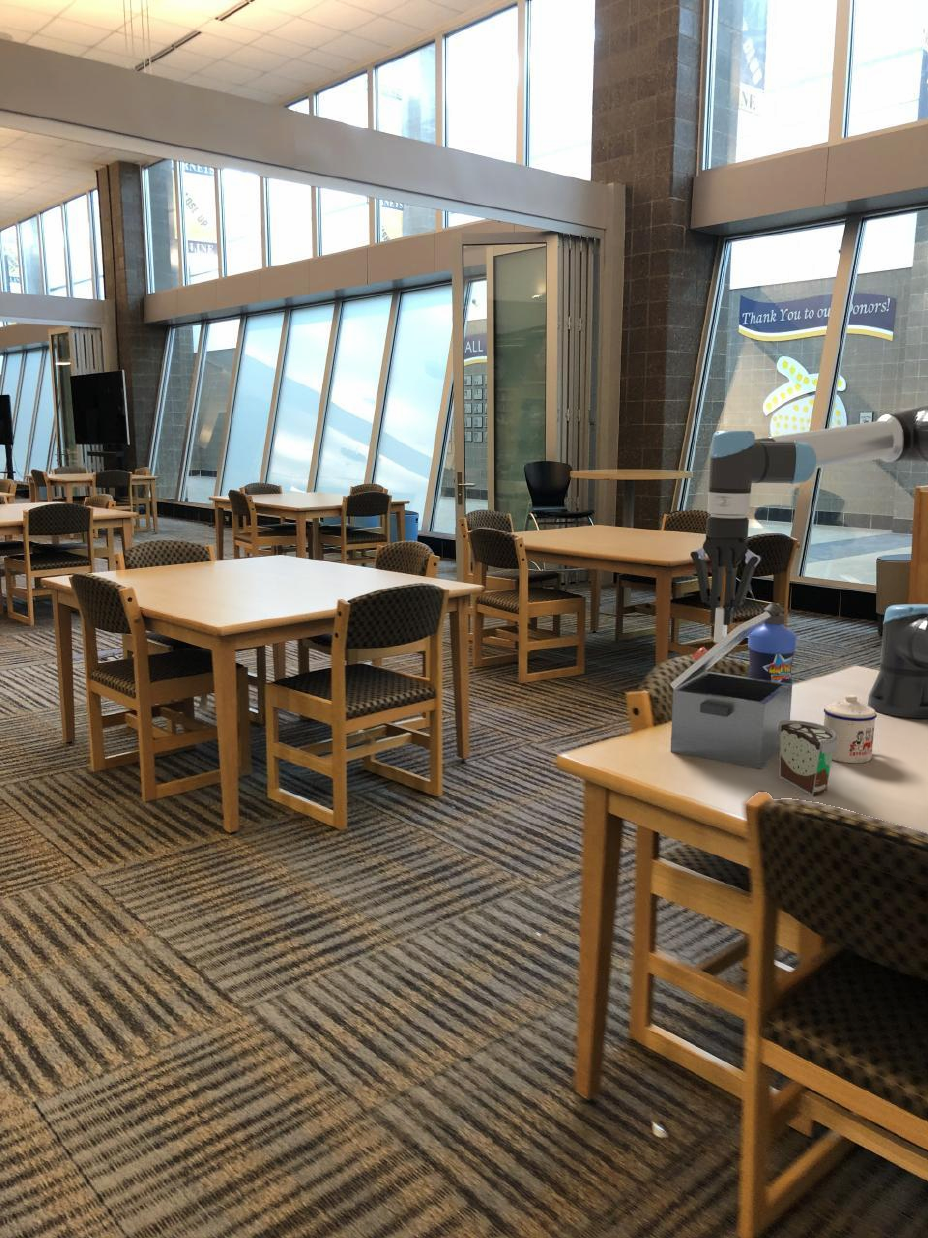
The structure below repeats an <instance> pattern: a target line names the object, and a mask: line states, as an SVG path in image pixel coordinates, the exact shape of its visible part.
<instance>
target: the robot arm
mask: <svg viewBox="0 0 928 1238" xmlns="http://www.w3.org/2000/svg"><path fill="white" fill-rule="evenodd" d="M874 460H881V461H882V462H884V463H895V462H918V463H919V462H920V463H928V405H925V406H920V407H917V408H912V409H909V410H905V411H901V412H900V411H899V412H895V413H890V414H883V415H881V416H880V417H878V419H877V420H876V421H870V422H863V423H857V424H850V425H843V426H837V427H830V428H828V427H827V428H822V429H816V430H810V431H808V430H807V431H802V432H796V433H790V434H783V435H782V434H781V435H775V436H769V437H762V438H756V434H755V432H754V431H752V430H717V431H716V432H714V434H712V439H711V446H710V453H709V481H708V491H707V492H708V493H707V496H708V497H707V514H709V516H708V517H707V518H706V524H705V525H706V527H705V540H704V541H703V544H702V547H700V548H699V549H697V550H694V551H691V552H690V555H689V556H690V557H691V559H692V561H693V563H694V565H695V566H694V567H695V572H696V578H697V583H698V589H699V596H700V600H701V602H702V603H705V604H707V605H709V607H710V616H709V621H710V623H711V625H712V624H714V629H713V631H714V633H713V643H716V644H717V643H718V642H719V641H721V640H722V639H723V638H724V637H725V636H726V635H728V633H727V632H728V626H731V625H732V624H733V618H734V609H735V607H740V606H742V605H743V604H744V603H745V601H746V597H747V595H748V592H749V588H750V585H751V581H752V579H753V575H754V573H755V570H756V567H757V566H758V565H759V563H760V562H761V561H762V556H761V555H756V554H755V553H754V552H753V551H751V548H750V544H749V542H748V539H749V525H750V522H749V521H750V519H749V518H748V517H747V516H748V515H749V514H750V512H751V509H750V508H751V498H752V497H751V496H752V495H751V494H752V485H753V484H791V485H794V484H800V483H801V484H802V483H806V482H809V480H810V479H811V478H812V477H813V475H814V474H815V472H816V470H817V469H822V468H828V467H834V466H842V465H846V464H847V465H849V464H854V463H860V462H867V461H874ZM707 557H708V559H709V561H710V562H711V571H712V573H711V584H710V579H709V574H708V566H707V563H706V560H705V559H706V558H707ZM744 558H745V560H744ZM742 560H744V561H745V566H744V569H743V572H742V575H741V577H740V580H739V584H738V588H737V591H736V585H737V584H736V583H737V571H738V568H739V567H738V566H739V564H741V562H742ZM724 571H725V578H724V577H723V575H724ZM723 578H724V579H725V582H724V597H723V598H724V599H723V601H722V593H723V592H722V591H723ZM710 585H711V586H710ZM722 604H723V605H722ZM882 626H883V627H882V639H881V641H882V642H881V651H880V661H879V663H880V664H879V671H878V674H877V676H876V678H875V679H874V682H873V685H872V687H871V689H870V691H869V694H868V699H867V700H868V701H867V706H869V707H871V708H873V709H874V710H875V712H878V713H881V714H885V715H889V716H894V717H898V718H899V717H900V718H906V719H907V718H909V719H928V604H926V603H918V604H916V603H913V604H911V603H910V604H909V603H908V604H907V603H905V604H893V605H889V606H888V607H887V608H886V610H885V613H884V619H883V622H882Z"/></svg>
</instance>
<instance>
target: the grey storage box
mask: <svg viewBox="0 0 928 1238" xmlns="http://www.w3.org/2000/svg"><path fill="white" fill-rule="evenodd" d="M791 688H792V689H793V683H792V684H789V683H782V682H776V681H769V680H762V679H755V678H748V676H740V675H733V674H726V673H721V672H713V671H708V670H706V671H705V672H703V673H701V674H700V675H698V676H696V677H694V678H693V679H691V680H689V681H687V682H686V683H684V684H682V685H681V686H679V687H677V688H675V689H673V691H672V708H671V709H672V712H671V731H670V733H671V735H670V752H671V751H673V752H672V753H676V752H677V754H682V755H687V756H691V757H697V758H701V759H707V760H711V761H716V762H722V763H726V764H730V765H731V764H732V765H736V766H737V765H738V766H741V767H742V766H743V767H746V768H747V767H748V768H752V769H757V770H762V768H764V767H765V766H766V765H767V764H768V763H769V762H770V761H771V760H772V759H773V758H775V756H776V755H778V754H779V753H780V731H778V727H779V724H780V721H783V720H789V716H790V717H791V711H790V702H791V703H792V698H791Z"/></svg>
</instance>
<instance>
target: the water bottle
mask: <svg viewBox="0 0 928 1238" xmlns="http://www.w3.org/2000/svg"><path fill="white" fill-rule="evenodd" d="M766 611H767V612H768V613H769V614H770V615H771V616H770V617H769V618H768V619H767V620H766V621H765V622H763V623H762V624H761V625H760V626H759V627H757V628H756V629H755V630H754V631H753V632H752V633H750V634H749V635H748V636H747V637H748V638H747V639H748V640H747V647H748V656H749V657H748V659H749V660H748V661H749V668H748V672H747V677H748V678H755V679H762V680H769V681H776V682H782V683H789V684H792V685H793V677H792V676H793V675H792V668H793V666H792V665H793V663H794V662H793V661H794V656H795V651H796V650H797V639H798V634H797V633H796V632H794V631H792V630H790V629H789V628H787V627H786V626H785V625H784V624H785V619H786V618H785V617H786V615H785V614H783V612H784V611H785V609H784V608H783V607H782V606H781V604H780V603H776V602H772V603H769V604H768V605H767V606H765V608H764V612H766ZM792 694H793V687H792V688H791V699H792ZM791 710H792V701H791V702H790V712H791ZM789 720H791V715H790V716H789Z"/></svg>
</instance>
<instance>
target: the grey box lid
mask: <svg viewBox="0 0 928 1238" xmlns="http://www.w3.org/2000/svg"><path fill="white" fill-rule="evenodd" d="M770 616H771V615H770V614H769V613H768V612H767V611H764V612H763V613H760V614H758V615H757V616H754V617H753V618H750V619H748V620H746V621H745V622H743V623H741V624H739V625H738V626H736V627H734V628H733V629H732V630H731V631H730V632H729V633H727V635H726V636H725V637H724V638H723V639H722V640H721V641H719V642H718V643H717V642H716V644H715V645H713V646H712V647H711V648H710V649H709V650H707V649H706V648H705V646H702V647H700V648H699V649H697V651H695V652H694V653H693V654H692V655H691V658H692V659H693V661H694V663H693V664H692V665H690V666H689V667H688V668H687V669H686V670H685V671H683V672H682V673H681V674H680V675H679V676H677V677H676V678H675V679H674V680H672V682H671V683H669V685H670V687H671V688H672V689H673V690H674V689H676V688H678V687H679V686H681V685H683V684H685V683H686V682H688V681H690V680H691V679H693V678H695V677H697V676H698V675H700V674H702V673H703V672H705V671H708V670H709V669H710V668H711V667H713V666H714V665H715V664H716V663H718V661H720V660H721V659H722V658H723V657H725V656H726V655H727V654H728V653H729V652H730V651H732V650H733V649H734V648H736V646H738V645H739V644H740V643H741V642H742V641H743V640H745V639H746V638H747V637H749V634H750V633H752V632H753V631H754V630H755V629H756V628H757V627H760V626H761V625H762V624H763V623H764V622H765V621H766V620H767V619H768V618H769V617H770Z"/></svg>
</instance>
